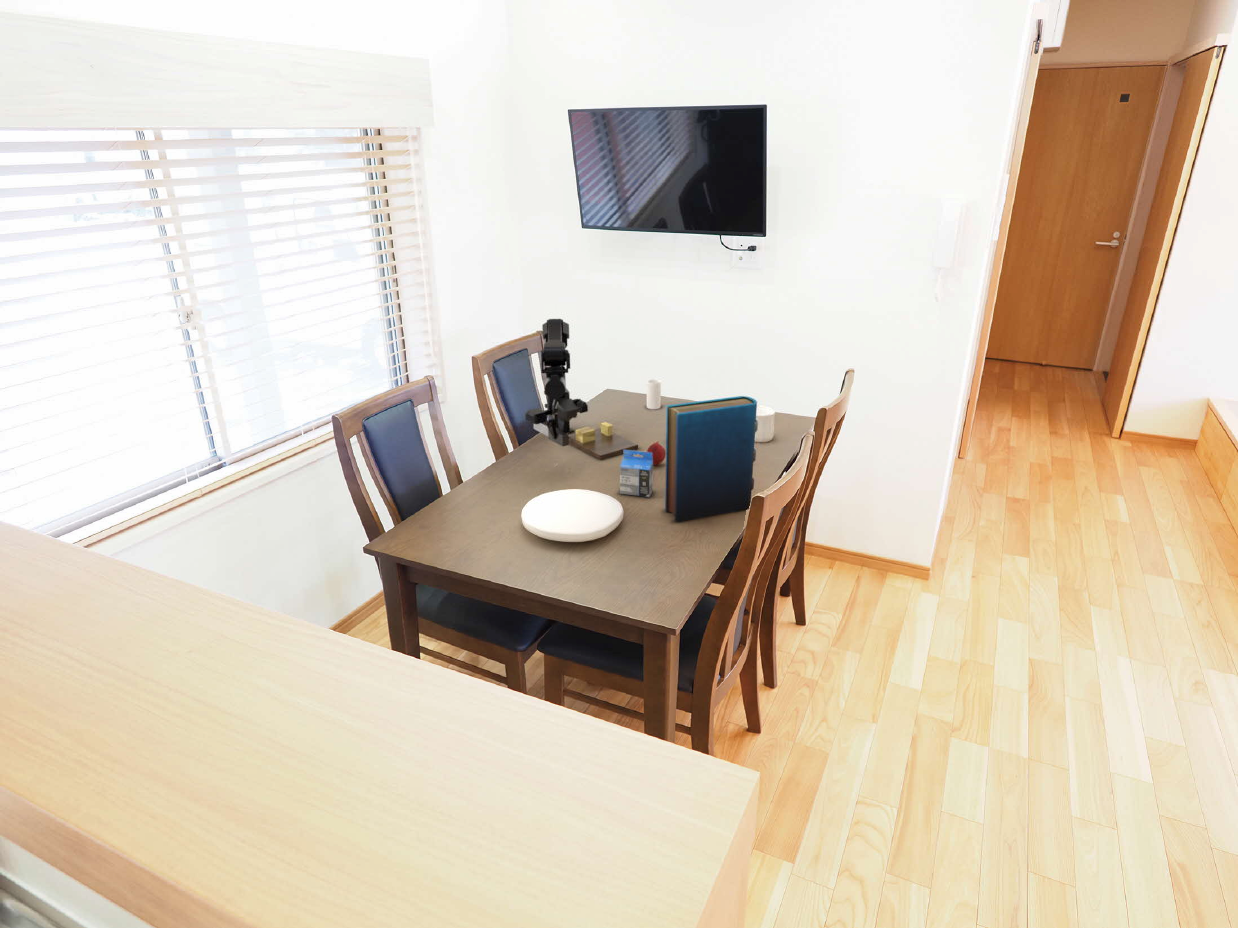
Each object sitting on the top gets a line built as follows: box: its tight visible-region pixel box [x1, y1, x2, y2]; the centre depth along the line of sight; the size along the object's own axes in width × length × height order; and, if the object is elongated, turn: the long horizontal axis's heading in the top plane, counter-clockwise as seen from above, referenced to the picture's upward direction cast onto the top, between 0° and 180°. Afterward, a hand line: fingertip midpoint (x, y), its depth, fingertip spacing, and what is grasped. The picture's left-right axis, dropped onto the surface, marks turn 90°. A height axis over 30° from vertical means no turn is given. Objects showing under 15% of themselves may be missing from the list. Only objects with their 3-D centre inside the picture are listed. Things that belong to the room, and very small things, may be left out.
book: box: [664, 395, 758, 523], centre depth 209 cm, size 24×9×30 cm, turn 110°
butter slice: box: [600, 421, 614, 436], centre depth 263 cm, size 4×2×4 cm, turn 37°
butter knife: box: [533, 423, 570, 447], centre depth 239 cm, size 18×2×4 cm, turn 37°
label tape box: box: [619, 450, 654, 498], centre depth 222 cm, size 9×4×12 cm, turn 73°
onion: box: [646, 440, 666, 466], centre depth 241 cm, size 6×6×8 cm
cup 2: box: [755, 405, 776, 443], centre depth 261 cm, size 10×10×10 cm
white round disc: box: [520, 488, 625, 543], centre depth 205 cm, size 28×6×27 cm
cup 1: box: [646, 378, 662, 410], centre depth 291 cm, size 5×5×10 cm
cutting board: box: [569, 426, 639, 461], centre depth 257 cm, size 20×15×5 cm
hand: (558, 438), depth 235 cm, fingers closed on butter knife, 2 cm apart
